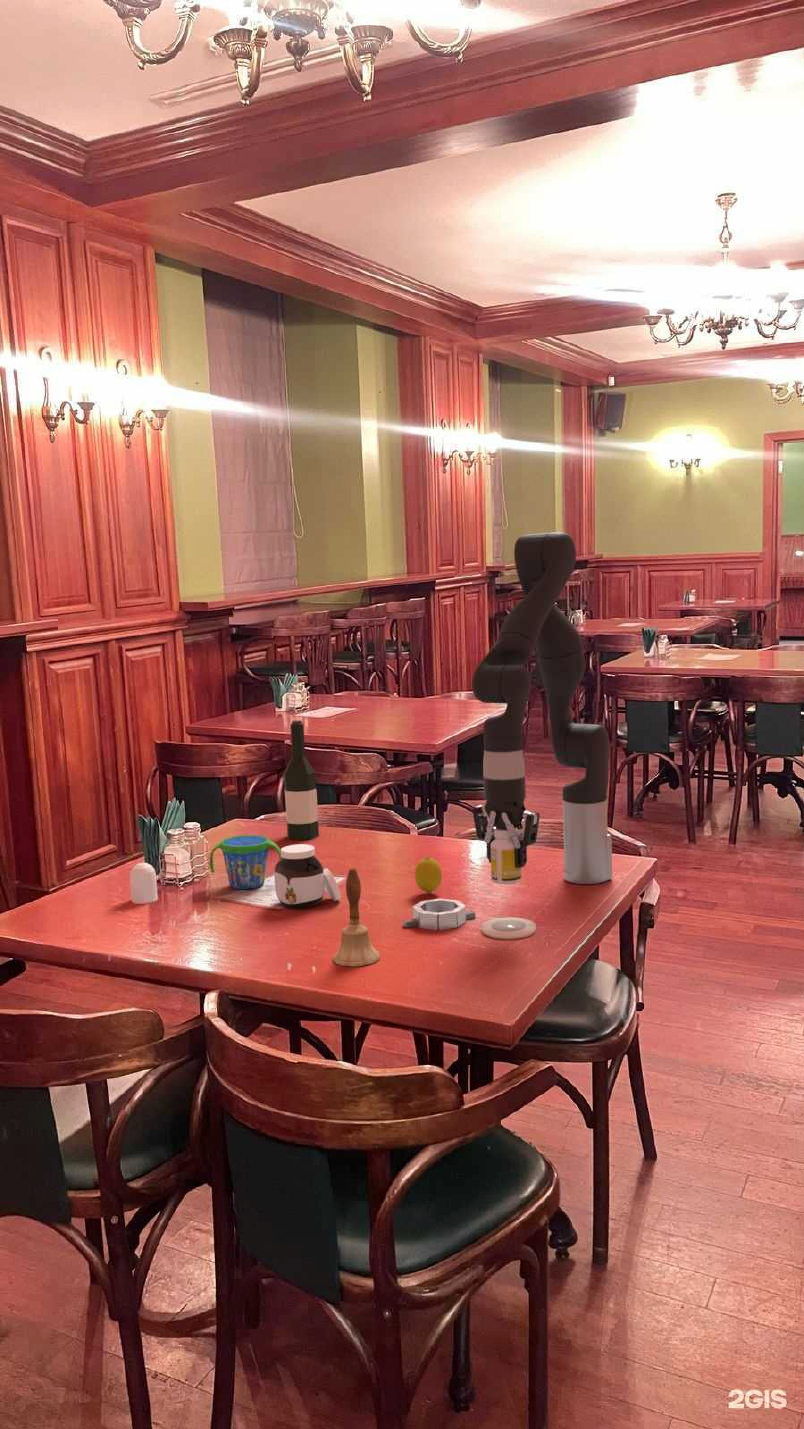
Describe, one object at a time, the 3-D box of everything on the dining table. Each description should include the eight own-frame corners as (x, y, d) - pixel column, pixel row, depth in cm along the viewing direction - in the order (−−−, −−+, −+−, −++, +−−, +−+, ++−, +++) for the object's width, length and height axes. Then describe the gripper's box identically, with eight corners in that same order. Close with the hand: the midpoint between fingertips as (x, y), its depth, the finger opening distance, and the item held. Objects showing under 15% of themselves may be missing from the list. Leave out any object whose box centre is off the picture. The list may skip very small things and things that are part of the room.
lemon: (440, 898, 227) (438, 860, 226) (413, 897, 228) (411, 859, 227) (444, 890, 232) (443, 853, 231) (418, 889, 233) (417, 852, 232)
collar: (465, 910, 218) (464, 895, 218) (483, 923, 209) (482, 908, 209) (397, 919, 214) (396, 904, 214) (412, 934, 205) (411, 918, 205)
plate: (522, 918, 211) (522, 914, 211) (544, 934, 202) (544, 929, 202) (473, 925, 208) (473, 921, 208) (493, 942, 199) (493, 937, 199)
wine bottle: (283, 840, 281) (276, 723, 278) (291, 832, 290) (285, 718, 286) (315, 840, 280) (308, 722, 276) (322, 832, 288) (316, 718, 284)
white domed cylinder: (151, 904, 231) (148, 866, 230) (127, 903, 232) (124, 866, 231) (161, 896, 236) (159, 859, 235) (138, 896, 238) (135, 859, 236)
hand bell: (332, 952, 197) (327, 865, 195) (378, 949, 198) (374, 862, 196) (333, 968, 189) (328, 877, 187) (381, 965, 190) (377, 874, 188)
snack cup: (287, 878, 246) (284, 833, 245) (278, 892, 236) (275, 845, 235) (217, 879, 248) (214, 835, 246) (206, 893, 237) (203, 847, 236)
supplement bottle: (526, 879, 204) (525, 827, 203) (512, 886, 200) (510, 833, 199) (500, 876, 207) (499, 824, 206) (485, 882, 203) (484, 830, 202)
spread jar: (270, 904, 228) (267, 848, 226) (311, 891, 236) (308, 837, 234) (309, 914, 219) (306, 857, 218) (350, 900, 228) (348, 845, 226)
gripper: (548, 774, 199) (551, 866, 201) (485, 767, 209) (488, 854, 211) (523, 781, 194) (526, 875, 196) (460, 773, 204) (463, 863, 206)
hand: (506, 864), depth 204 cm, fingers closed on supplement bottle, 5 cm apart
